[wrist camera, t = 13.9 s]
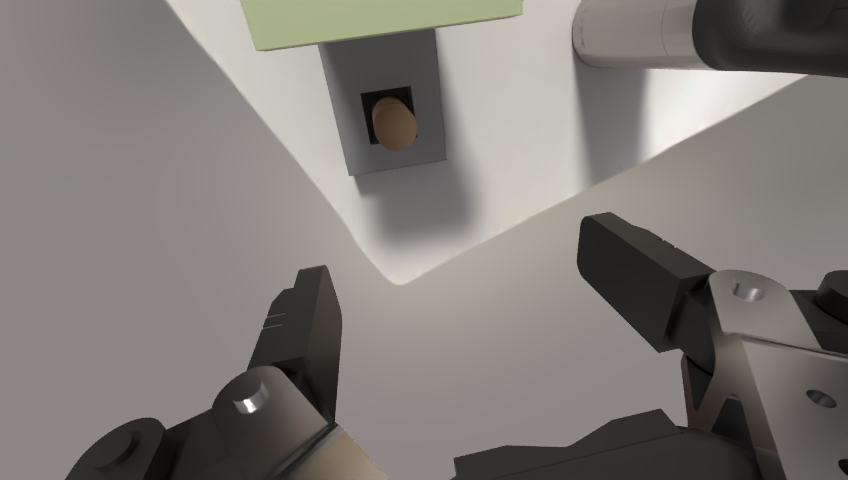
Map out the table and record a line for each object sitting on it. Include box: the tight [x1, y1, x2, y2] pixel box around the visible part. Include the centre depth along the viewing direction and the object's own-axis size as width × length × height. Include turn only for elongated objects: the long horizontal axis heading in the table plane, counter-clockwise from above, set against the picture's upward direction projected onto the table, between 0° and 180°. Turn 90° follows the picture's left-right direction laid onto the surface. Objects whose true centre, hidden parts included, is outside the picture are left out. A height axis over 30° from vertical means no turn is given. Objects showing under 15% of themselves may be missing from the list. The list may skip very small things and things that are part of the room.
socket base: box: [240, 0, 523, 176], centre depth 29 cm, size 14×20×24 cm
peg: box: [371, 94, 417, 151], centre depth 37 cm, size 4×4×12 cm
